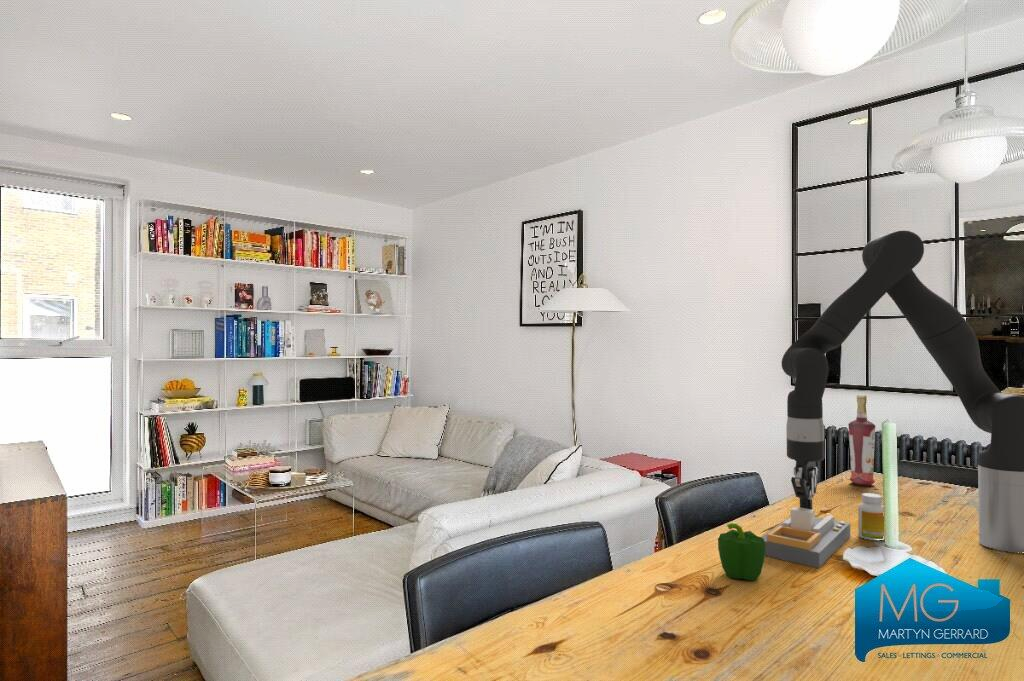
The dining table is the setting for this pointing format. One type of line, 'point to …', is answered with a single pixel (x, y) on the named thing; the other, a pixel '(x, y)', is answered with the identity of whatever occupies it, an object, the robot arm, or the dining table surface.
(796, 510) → the handle
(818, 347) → the robot arm
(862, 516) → the supplement bottle
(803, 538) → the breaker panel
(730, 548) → the bell pepper
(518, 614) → the dining table surface
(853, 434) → the liquor
